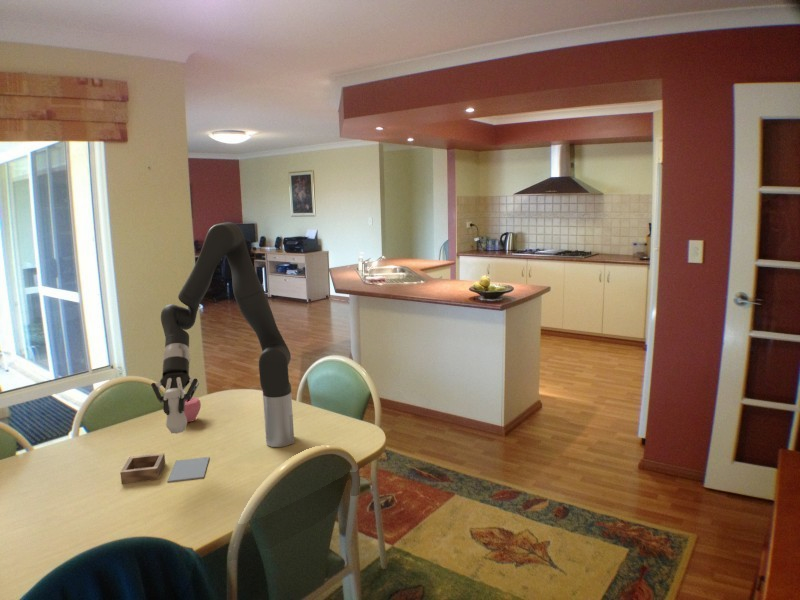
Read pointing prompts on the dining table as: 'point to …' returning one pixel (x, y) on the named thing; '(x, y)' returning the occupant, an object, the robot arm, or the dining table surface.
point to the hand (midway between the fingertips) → (174, 412)
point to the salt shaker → (175, 412)
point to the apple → (192, 408)
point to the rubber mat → (189, 469)
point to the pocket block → (143, 468)
